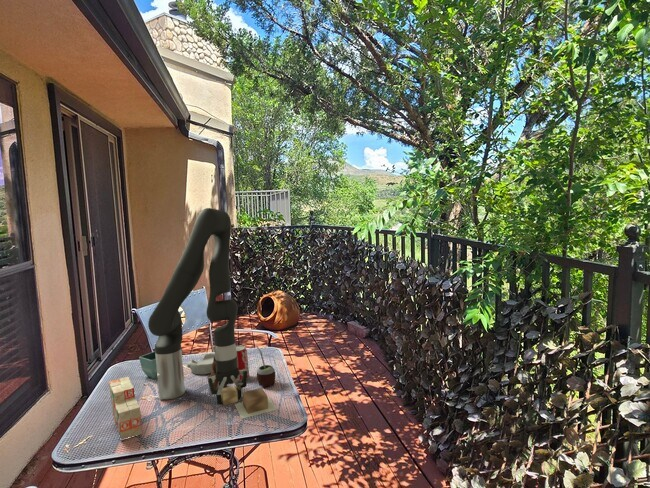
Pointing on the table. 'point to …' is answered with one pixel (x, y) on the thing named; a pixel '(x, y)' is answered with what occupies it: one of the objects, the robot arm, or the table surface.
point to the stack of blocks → (125, 408)
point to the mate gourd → (265, 374)
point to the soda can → (242, 361)
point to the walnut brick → (255, 400)
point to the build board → (244, 413)
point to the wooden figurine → (214, 375)
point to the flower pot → (149, 364)
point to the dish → (202, 364)
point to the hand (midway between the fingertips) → (229, 401)
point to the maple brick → (229, 395)
